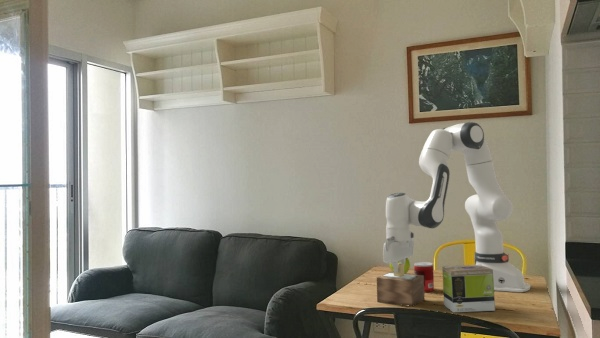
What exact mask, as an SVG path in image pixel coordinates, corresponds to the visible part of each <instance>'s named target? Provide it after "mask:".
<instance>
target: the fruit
mask: <svg viewBox="0 0 600 338" xmlns="http://www.w3.org/2000/svg"><path fill="white" fill-rule="evenodd" d="M405 260H406V261H405V265H404V274H408V272H409V270H410V268H411V263H410V260H409V257H408V258H405ZM398 263H400V261H398ZM388 264H389V268H390V269H391V272H393V273H394V271H393V266H392V263H388Z"/></svg>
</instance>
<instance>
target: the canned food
mask: <svg viewBox="0 0 600 338" xmlns="http://www.w3.org/2000/svg"><path fill="white" fill-rule="evenodd" d="M413 265H414V267H413V268H414V270H413V271H414V275H422V276H424V293H431V292H433V291H434V289H435V286H434V283H435V282H434V281H435V280H434V278H435V277H434V263H433V262H428V261H419V262H414V264H413Z"/></svg>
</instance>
